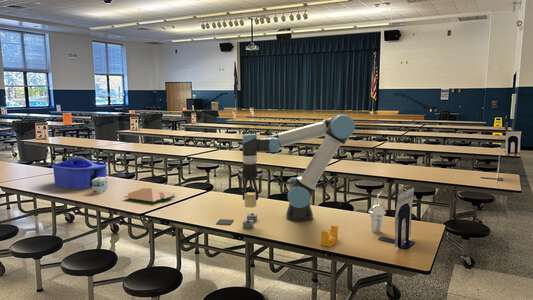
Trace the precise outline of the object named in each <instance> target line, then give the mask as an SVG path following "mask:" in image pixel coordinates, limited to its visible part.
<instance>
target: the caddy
mask: <svg viewBox="0 0 533 300" xmlns="http://www.w3.org/2000/svg"><path fill="white" fill-rule="evenodd" d="M107 166H108V163H106V162H102V161H101V162H100V161H99V162H98V161H93V160H90V159H87V158H85V157H83V156H80V155H79V156H78V155H77V156H73V157H71V158H69V159H67V160H65V161H64V160H63V161H60V162H57V163H56V162H55V163H53V164H52V165H51V168H52V170H53V179H54V185H56V186H55V187H57V186H59V187H58V188H62V187H65V188H64V189H67V188H69V189H68V190H86V188H87V189H89V188H90V187H91V185H92V180H93V179H95V178H98V177H107Z"/></svg>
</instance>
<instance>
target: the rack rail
mask: <svg viewBox="0 0 533 300" xmlns="http://www.w3.org/2000/svg"><path fill="white" fill-rule="evenodd" d="M257 220H258V214H257V213H252V212H251V213H247V216H246V219H244V220H243V221H242V229H253V228H254V226H255V225H254V223H256V222H257Z"/></svg>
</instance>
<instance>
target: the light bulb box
mask: <svg viewBox="0 0 533 300" xmlns="http://www.w3.org/2000/svg"><path fill="white" fill-rule="evenodd" d="M91 185H92V186H91V188H92V190H91V191H92V194H98V195H99V194H103V193H105V192H107V191H108V189H109V187H108V177H107V176H106V177H98V178H95V179H93V180H92V184H91Z"/></svg>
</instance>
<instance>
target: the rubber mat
mask: <svg viewBox="0 0 533 300" xmlns="http://www.w3.org/2000/svg"><path fill="white" fill-rule="evenodd" d="M233 222H234V219H226V218H224V219H223V218H222V219H221V218H219V219H218V220H217V222H216V223H215V224H216V225H218V226H219V225H222V226H231V225H232V223H233Z"/></svg>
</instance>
